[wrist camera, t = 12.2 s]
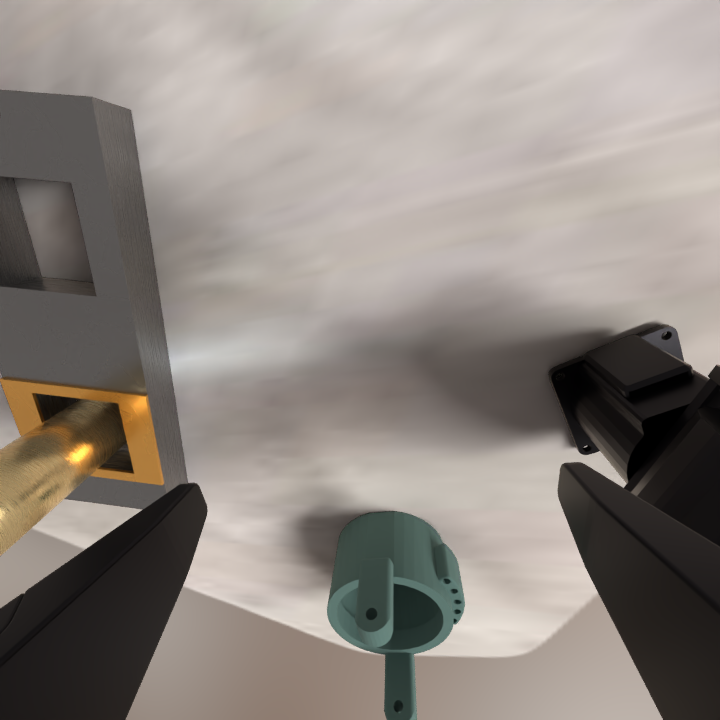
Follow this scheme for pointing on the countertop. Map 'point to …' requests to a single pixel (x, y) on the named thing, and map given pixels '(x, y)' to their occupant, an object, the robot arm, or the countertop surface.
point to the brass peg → (54, 463)
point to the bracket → (395, 596)
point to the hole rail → (87, 294)
